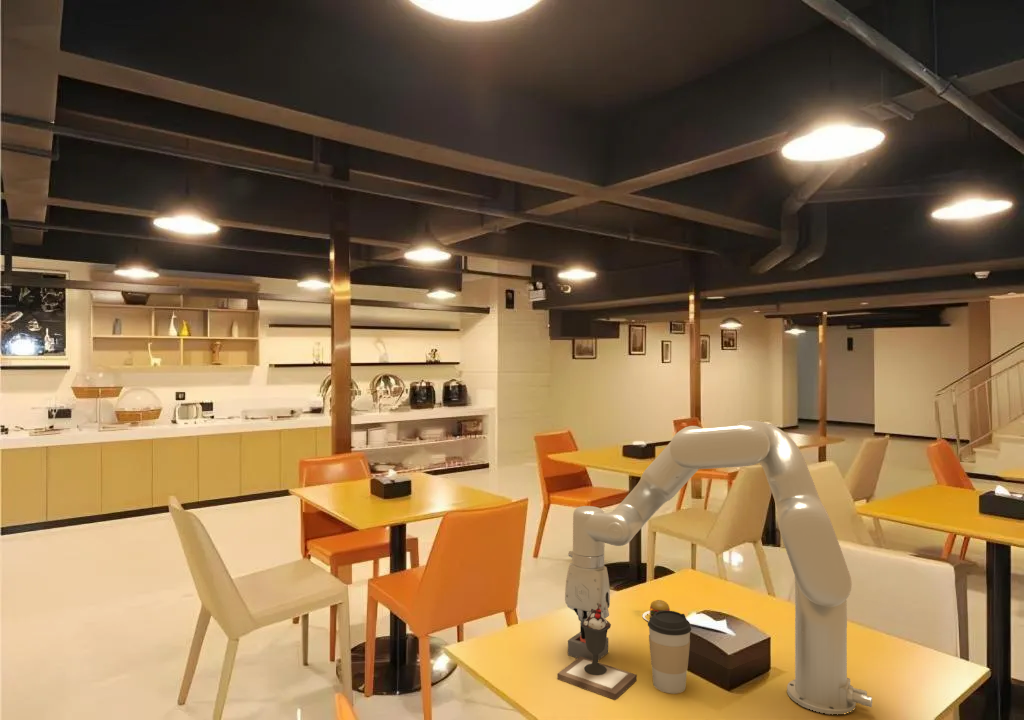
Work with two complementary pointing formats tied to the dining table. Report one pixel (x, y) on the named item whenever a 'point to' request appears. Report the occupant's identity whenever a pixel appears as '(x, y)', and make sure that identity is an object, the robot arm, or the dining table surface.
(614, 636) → the dining table surface
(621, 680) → the drawing board
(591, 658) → the button base
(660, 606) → the hamburger
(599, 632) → the sundae
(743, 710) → the dining table surface
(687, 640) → the coffee cup
